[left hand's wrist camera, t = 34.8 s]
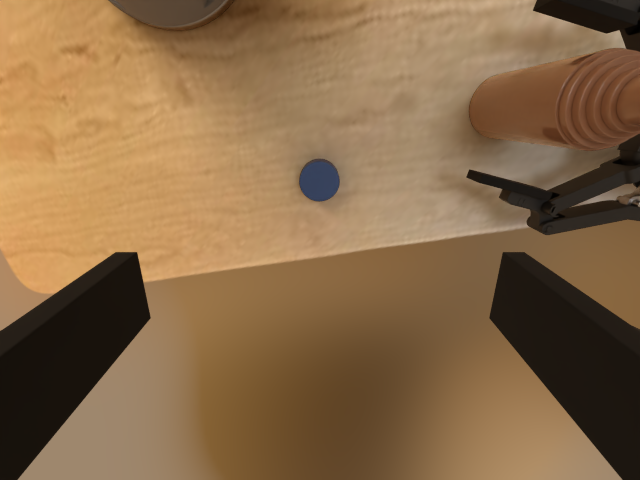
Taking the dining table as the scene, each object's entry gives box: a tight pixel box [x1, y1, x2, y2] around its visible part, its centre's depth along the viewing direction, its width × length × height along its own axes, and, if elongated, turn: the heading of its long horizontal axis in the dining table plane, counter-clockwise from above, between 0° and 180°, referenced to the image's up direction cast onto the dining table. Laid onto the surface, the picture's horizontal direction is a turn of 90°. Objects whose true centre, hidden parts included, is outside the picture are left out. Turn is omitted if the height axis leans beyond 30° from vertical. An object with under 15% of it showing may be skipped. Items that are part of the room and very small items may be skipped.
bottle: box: [469, 48, 640, 151], centre depth 25 cm, size 6×6×19 cm
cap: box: [299, 159, 339, 201], centre depth 36 cm, size 4×4×2 cm
